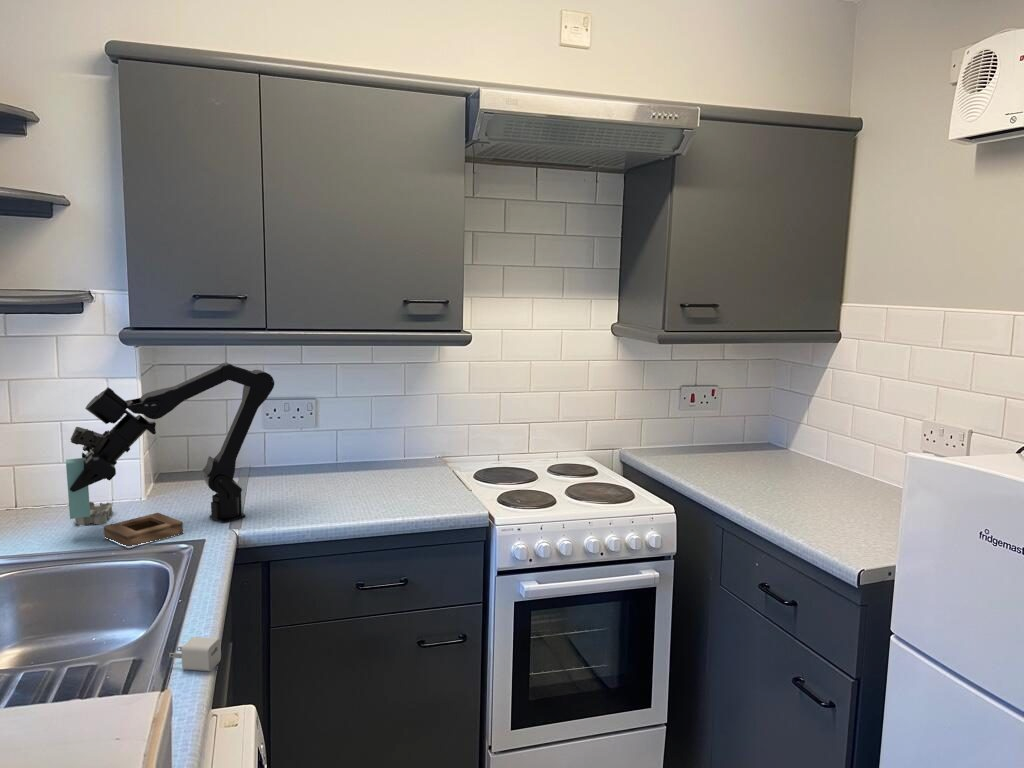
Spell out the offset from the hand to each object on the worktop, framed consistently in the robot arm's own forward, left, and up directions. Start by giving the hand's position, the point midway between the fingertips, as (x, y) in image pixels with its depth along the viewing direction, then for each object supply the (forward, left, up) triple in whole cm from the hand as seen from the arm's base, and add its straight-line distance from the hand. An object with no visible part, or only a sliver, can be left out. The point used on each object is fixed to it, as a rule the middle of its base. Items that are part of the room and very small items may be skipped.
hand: (71, 488), depth 168 cm
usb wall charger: (+13, +72, -13) cm, 74 cm away
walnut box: (-11, +10, -12) cm, 19 cm away
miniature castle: (-10, -12, -13) cm, 20 cm away
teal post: (-1, +1, -7) cm, 7 cm away
